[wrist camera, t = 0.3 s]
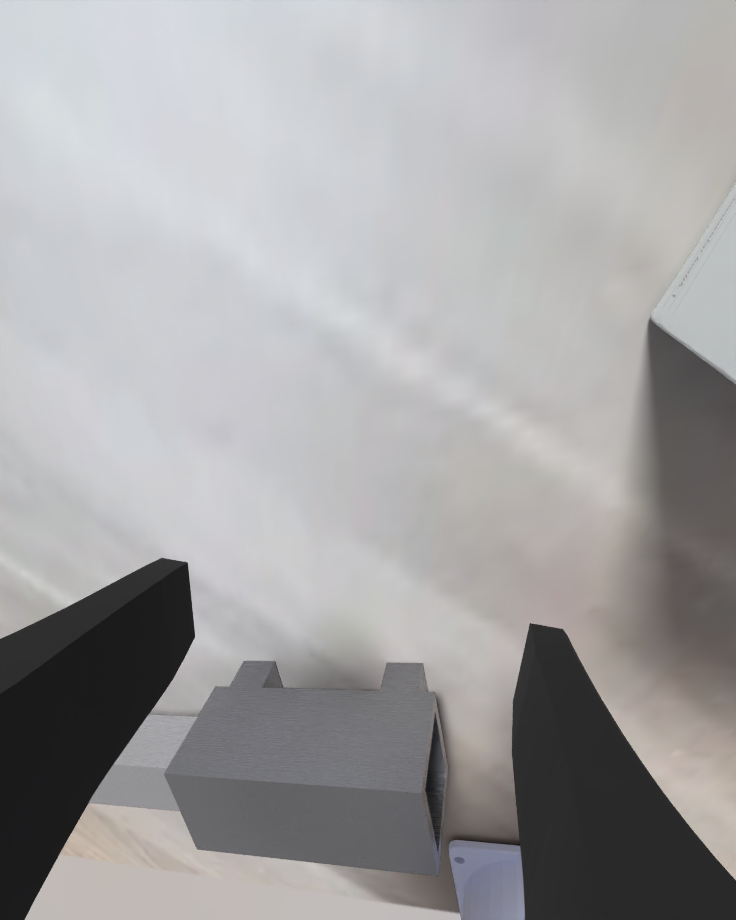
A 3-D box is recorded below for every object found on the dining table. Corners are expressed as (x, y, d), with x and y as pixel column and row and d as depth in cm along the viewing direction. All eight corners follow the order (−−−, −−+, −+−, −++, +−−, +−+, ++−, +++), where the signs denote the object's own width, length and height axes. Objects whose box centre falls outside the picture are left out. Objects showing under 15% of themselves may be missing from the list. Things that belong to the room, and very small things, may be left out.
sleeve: (451, 738, 26) (438, 876, 20) (253, 728, 28) (197, 849, 23) (438, 663, 24) (421, 792, 19) (230, 660, 27) (163, 774, 21)
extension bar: (408, 770, 24) (398, 834, 21) (76, 749, 28) (37, 799, 26) (398, 723, 23) (387, 784, 20) (56, 709, 27) (13, 757, 25)
